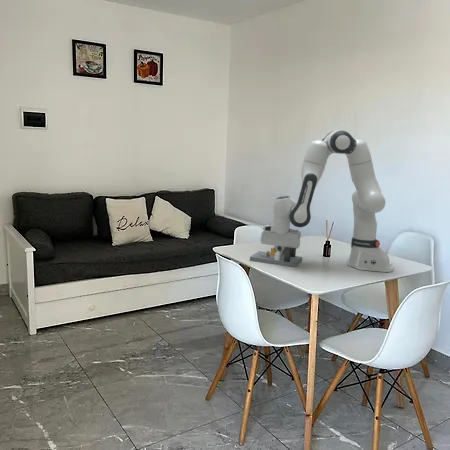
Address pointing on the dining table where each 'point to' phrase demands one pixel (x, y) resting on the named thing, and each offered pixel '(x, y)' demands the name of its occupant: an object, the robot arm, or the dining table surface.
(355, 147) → the robot arm
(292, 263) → the panel
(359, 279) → the dining table surface
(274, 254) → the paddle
